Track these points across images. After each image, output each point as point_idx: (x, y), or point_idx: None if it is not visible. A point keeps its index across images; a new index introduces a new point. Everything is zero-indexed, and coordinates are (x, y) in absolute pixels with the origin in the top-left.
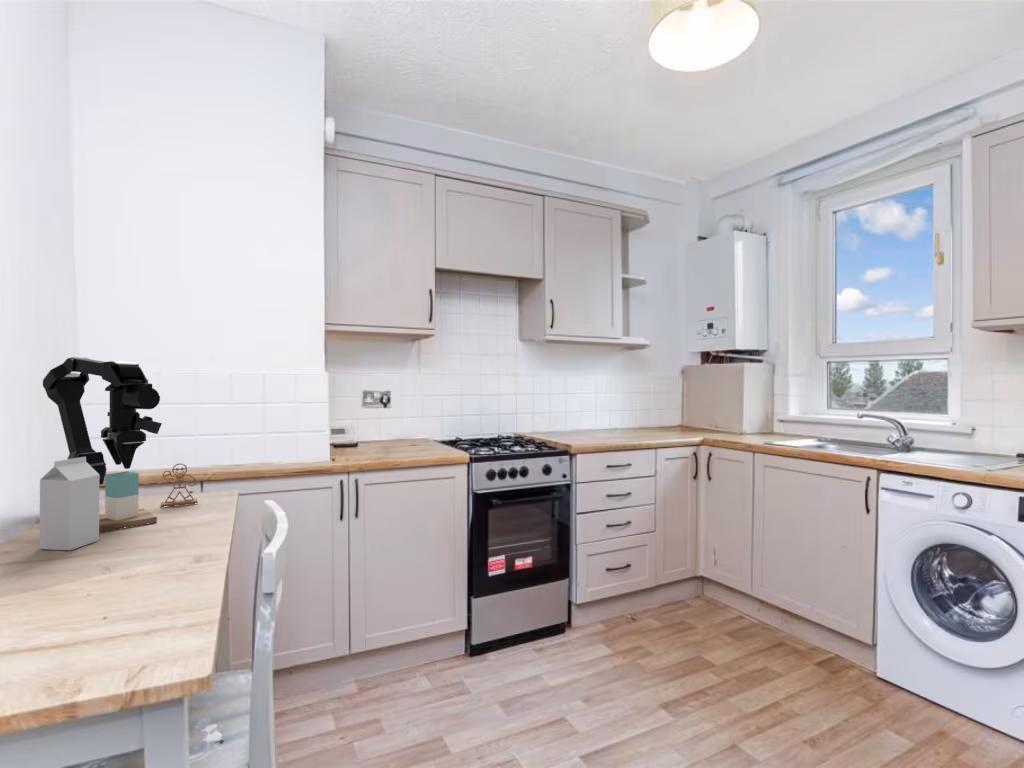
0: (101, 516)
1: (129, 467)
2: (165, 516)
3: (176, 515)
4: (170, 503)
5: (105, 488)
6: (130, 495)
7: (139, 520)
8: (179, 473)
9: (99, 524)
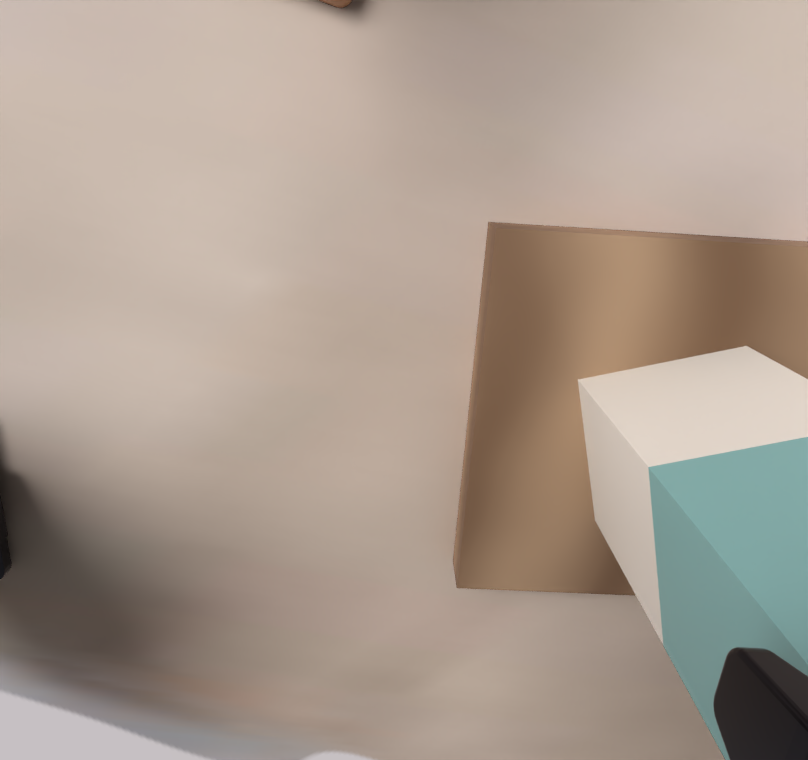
0: (520, 524)
1: (774, 666)
2: (736, 116)
3: (791, 27)
4: None
5: (707, 714)
6: None
7: None
8: None
9: None
